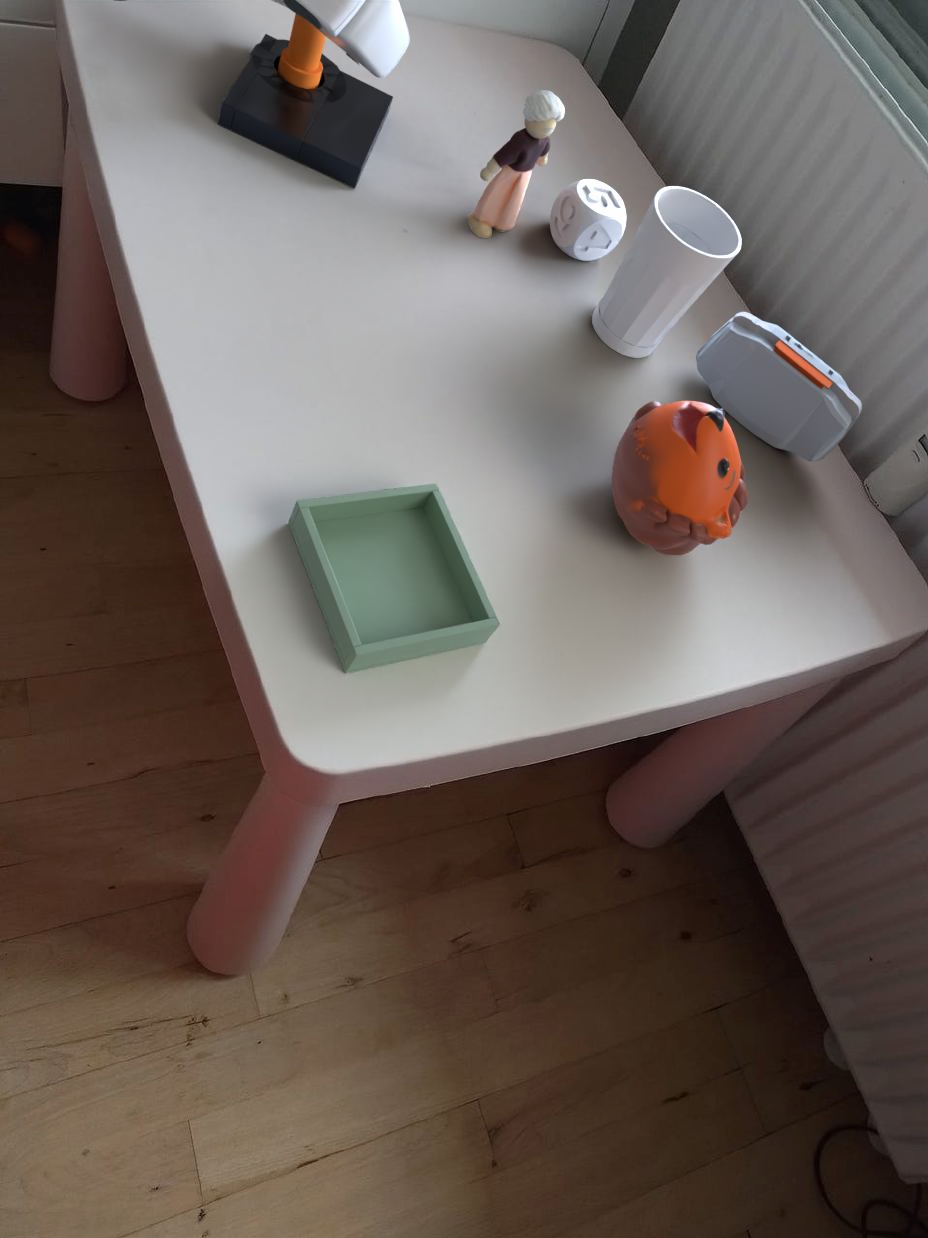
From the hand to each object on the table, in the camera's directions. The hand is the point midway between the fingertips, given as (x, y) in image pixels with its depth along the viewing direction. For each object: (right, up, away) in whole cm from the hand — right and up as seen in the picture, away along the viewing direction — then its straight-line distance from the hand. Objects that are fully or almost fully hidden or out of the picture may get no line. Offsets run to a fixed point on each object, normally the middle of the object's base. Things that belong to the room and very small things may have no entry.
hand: (317, 18), depth 81 cm
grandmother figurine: (+14, -14, +7) cm, 21 cm away
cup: (+26, -24, +6) cm, 36 cm away
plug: (-3, -3, +5) cm, 7 cm away
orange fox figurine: (+26, -42, -4) cm, 49 cm away
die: (+22, -15, +10) cm, 29 cm away
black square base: (-2, -6, +4) cm, 8 cm away
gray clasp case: (+37, -32, +7) cm, 50 cm away
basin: (+7, -47, -17) cm, 51 cm away
